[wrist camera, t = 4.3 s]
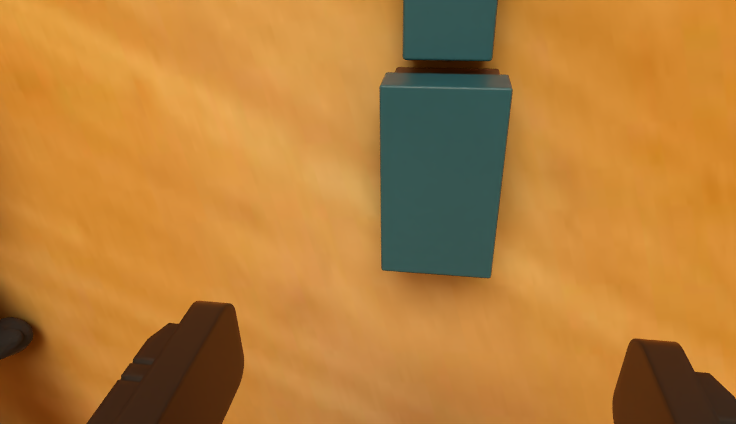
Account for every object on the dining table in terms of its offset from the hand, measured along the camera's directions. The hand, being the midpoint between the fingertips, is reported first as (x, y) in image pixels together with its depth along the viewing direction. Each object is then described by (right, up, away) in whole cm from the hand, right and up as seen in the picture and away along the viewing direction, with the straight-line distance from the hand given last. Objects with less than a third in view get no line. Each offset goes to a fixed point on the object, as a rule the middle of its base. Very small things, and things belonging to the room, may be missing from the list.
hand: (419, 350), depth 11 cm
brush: (+2, +9, +7) cm, 12 cm away
